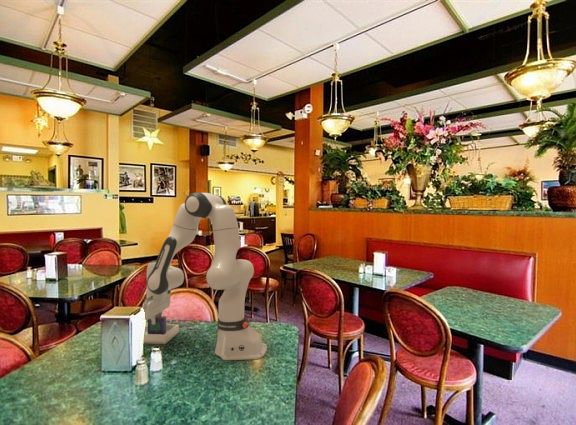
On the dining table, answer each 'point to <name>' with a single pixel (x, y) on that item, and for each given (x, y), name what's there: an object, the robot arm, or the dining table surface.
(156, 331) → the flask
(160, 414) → the dining table surface
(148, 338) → the tub
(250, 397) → the dining table surface
